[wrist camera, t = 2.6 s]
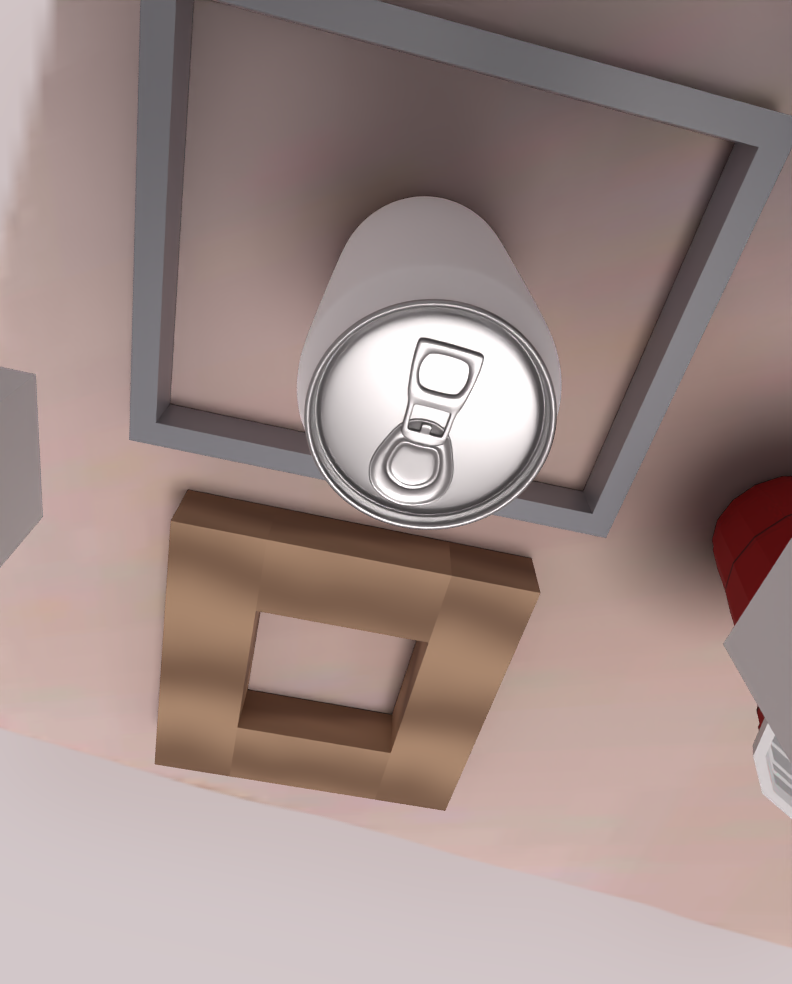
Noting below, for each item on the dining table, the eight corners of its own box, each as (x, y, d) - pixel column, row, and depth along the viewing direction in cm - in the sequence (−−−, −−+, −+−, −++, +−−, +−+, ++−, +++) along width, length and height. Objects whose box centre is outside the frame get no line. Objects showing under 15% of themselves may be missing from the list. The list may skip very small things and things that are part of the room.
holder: (187, 489, 30) (170, 521, 28) (531, 558, 32) (540, 593, 30) (169, 726, 38) (154, 764, 36) (443, 771, 40) (445, 810, 38)
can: (320, 345, 27) (262, 510, 16) (358, 169, 23) (316, 238, 13) (477, 387, 27) (516, 570, 17) (535, 222, 24) (628, 327, 14)
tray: (162, -54, 20) (142, -66, 19) (778, 117, 22) (805, 119, 21) (144, 420, 28) (129, 439, 27) (596, 514, 30) (606, 537, 29)
